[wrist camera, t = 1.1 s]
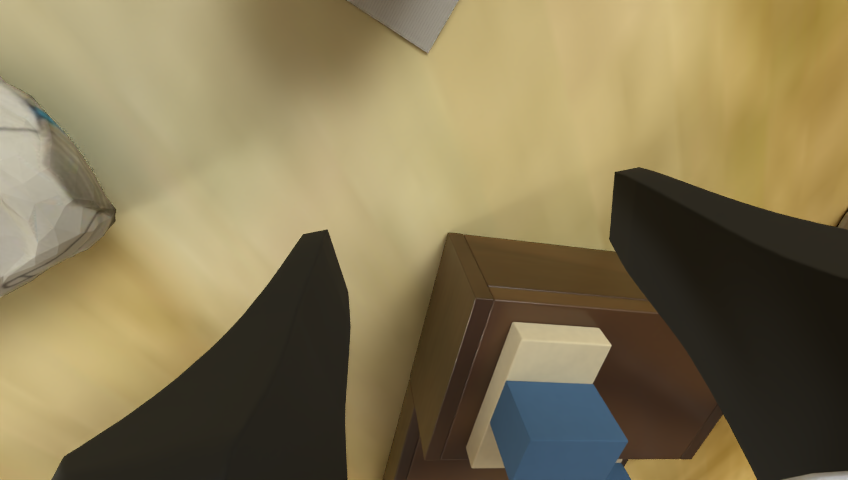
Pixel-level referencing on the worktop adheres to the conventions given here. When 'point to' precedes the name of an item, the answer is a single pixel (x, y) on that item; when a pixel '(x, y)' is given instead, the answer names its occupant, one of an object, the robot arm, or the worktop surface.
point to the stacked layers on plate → (410, 17)
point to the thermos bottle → (844, 222)
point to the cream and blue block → (547, 407)
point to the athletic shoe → (42, 193)
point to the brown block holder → (544, 304)
